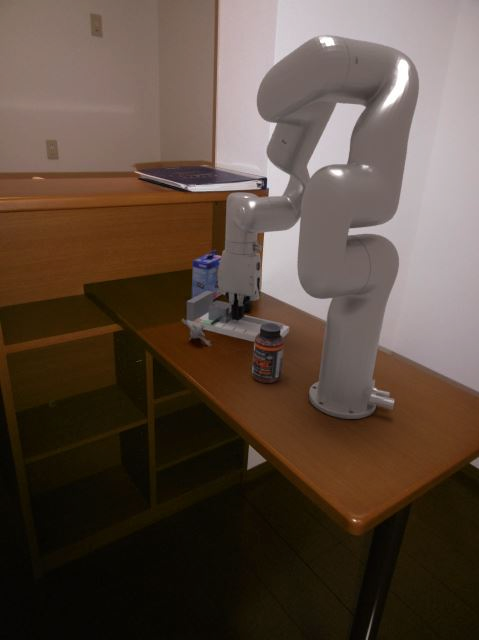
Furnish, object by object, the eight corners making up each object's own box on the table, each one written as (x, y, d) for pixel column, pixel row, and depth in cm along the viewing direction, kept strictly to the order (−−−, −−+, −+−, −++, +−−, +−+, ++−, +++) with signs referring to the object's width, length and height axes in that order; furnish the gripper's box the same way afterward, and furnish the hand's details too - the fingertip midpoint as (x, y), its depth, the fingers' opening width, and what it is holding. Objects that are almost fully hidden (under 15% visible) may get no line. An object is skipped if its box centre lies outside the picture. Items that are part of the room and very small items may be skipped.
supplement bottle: (247, 380, 92) (250, 329, 88) (257, 367, 97) (260, 318, 93) (275, 387, 90) (280, 335, 86) (284, 373, 95) (289, 323, 91)
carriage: (233, 318, 118) (233, 304, 116) (220, 327, 112) (221, 312, 110) (216, 314, 120) (216, 300, 118) (202, 323, 114) (203, 308, 112)
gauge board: (288, 331, 115) (291, 308, 113) (273, 346, 107) (276, 321, 104) (206, 313, 125) (206, 290, 122) (186, 325, 116) (186, 301, 114)
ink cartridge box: (207, 304, 131) (208, 255, 125) (190, 300, 133) (191, 252, 127) (223, 294, 139) (224, 248, 134) (207, 291, 141) (208, 245, 136)
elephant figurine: (217, 335, 112) (219, 338, 104) (202, 351, 112) (202, 355, 103) (190, 310, 111) (189, 310, 103) (175, 326, 111) (173, 328, 103)
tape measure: (250, 314, 126) (251, 301, 124) (226, 312, 126) (226, 299, 125) (253, 305, 132) (254, 293, 130) (230, 303, 133) (230, 291, 131)
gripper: (276, 248, 108) (270, 320, 115) (220, 239, 114) (218, 308, 121) (263, 255, 102) (258, 330, 109) (205, 245, 108) (204, 317, 115)
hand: (237, 318), depth 115 cm, fingers closed
